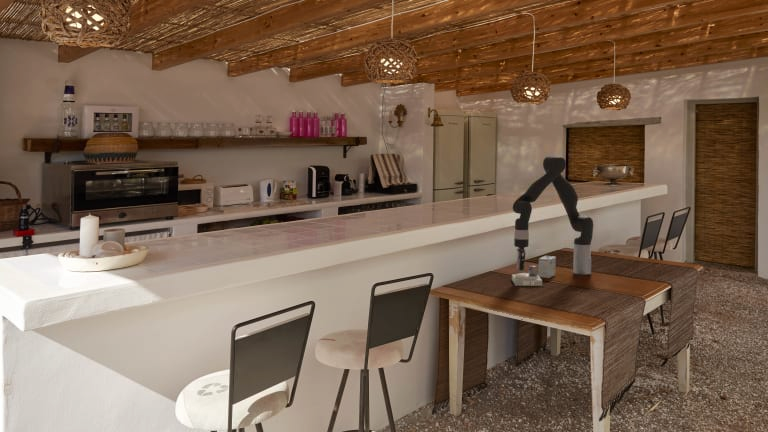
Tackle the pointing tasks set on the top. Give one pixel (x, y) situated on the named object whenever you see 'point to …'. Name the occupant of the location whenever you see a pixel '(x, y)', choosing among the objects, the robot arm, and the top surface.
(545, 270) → the light bulb box
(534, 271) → the spacer
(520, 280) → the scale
